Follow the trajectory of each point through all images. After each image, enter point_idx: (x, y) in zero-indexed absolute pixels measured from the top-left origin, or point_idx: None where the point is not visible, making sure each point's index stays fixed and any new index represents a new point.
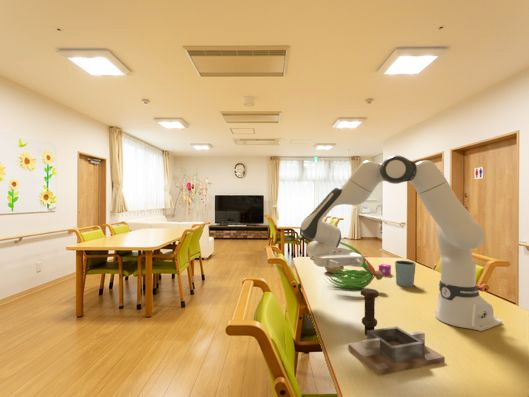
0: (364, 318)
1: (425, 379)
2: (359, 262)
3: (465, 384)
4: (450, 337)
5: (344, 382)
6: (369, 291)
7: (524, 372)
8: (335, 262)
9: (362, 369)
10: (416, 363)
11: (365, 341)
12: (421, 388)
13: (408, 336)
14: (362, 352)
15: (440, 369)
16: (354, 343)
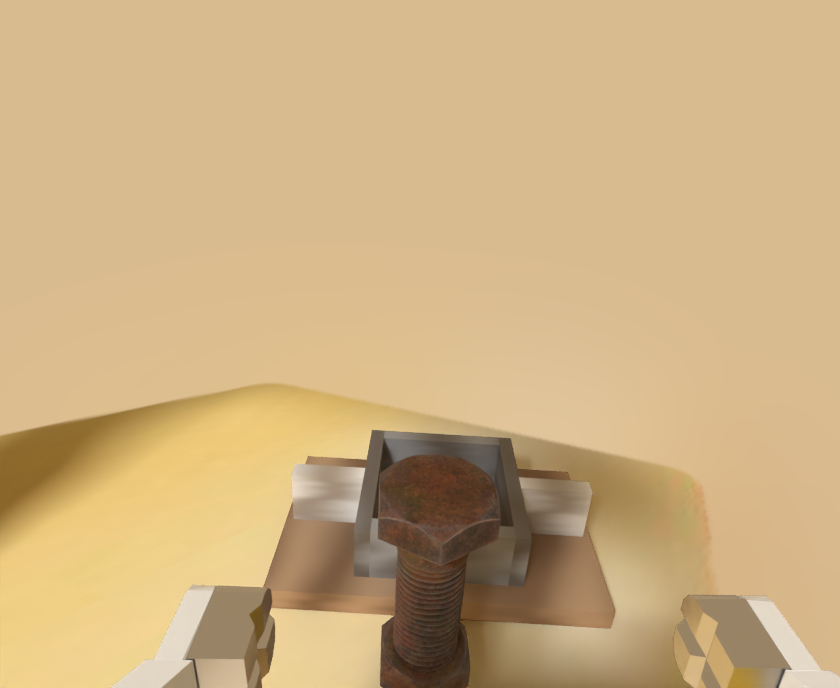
0: (453, 657)
1: None
2: (247, 587)
3: (363, 417)
4: (52, 559)
5: (682, 493)
6: (452, 478)
7: (165, 402)
8: (793, 641)
9: (603, 516)
10: None
11: (584, 484)
12: (481, 434)
13: (379, 472)
14: (576, 545)
15: (359, 457)
16: (582, 605)
